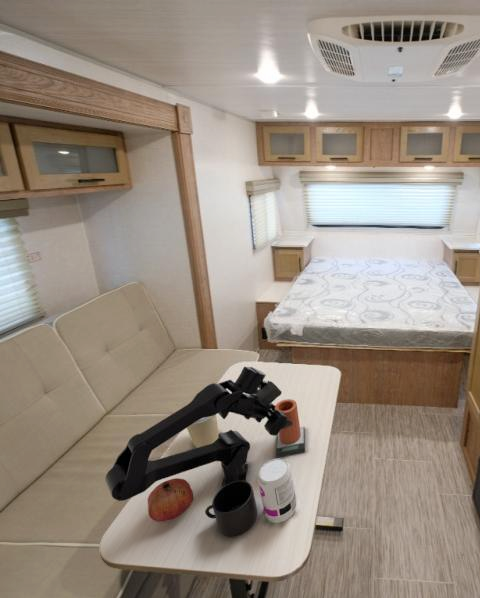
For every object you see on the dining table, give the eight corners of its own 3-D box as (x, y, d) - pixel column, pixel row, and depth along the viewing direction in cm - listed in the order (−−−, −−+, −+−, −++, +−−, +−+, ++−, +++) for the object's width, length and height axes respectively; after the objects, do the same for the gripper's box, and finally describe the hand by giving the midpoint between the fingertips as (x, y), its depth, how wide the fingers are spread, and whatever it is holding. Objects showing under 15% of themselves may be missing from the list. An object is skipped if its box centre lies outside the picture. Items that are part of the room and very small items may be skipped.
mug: (214, 508, 94) (207, 484, 90) (260, 500, 96) (255, 477, 92) (203, 543, 85) (195, 518, 82) (254, 534, 87) (248, 509, 84)
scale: (305, 451, 112) (304, 447, 111) (276, 457, 110) (275, 452, 109) (304, 430, 121) (304, 425, 120) (278, 435, 119) (277, 430, 118)
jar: (288, 447, 111) (283, 415, 106) (275, 438, 114) (270, 407, 109) (304, 435, 116) (300, 404, 111) (292, 426, 119) (287, 396, 114)
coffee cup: (227, 430, 120) (220, 403, 116) (211, 451, 112) (203, 422, 107) (202, 428, 121) (194, 401, 117) (184, 449, 113) (175, 420, 108)
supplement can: (264, 528, 89) (255, 487, 83) (266, 500, 96) (258, 460, 90) (296, 520, 91) (289, 479, 85) (296, 493, 98) (290, 453, 92)
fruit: (204, 495, 97) (196, 469, 93) (182, 530, 88) (173, 503, 84) (167, 494, 98) (158, 468, 94) (142, 528, 88) (130, 501, 85)
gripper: (276, 395, 95) (314, 408, 107) (248, 368, 107) (285, 382, 119) (252, 431, 93) (294, 441, 104) (227, 399, 105) (266, 411, 117)
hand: (285, 416), depth 111 cm, fingers open, 9 cm apart
